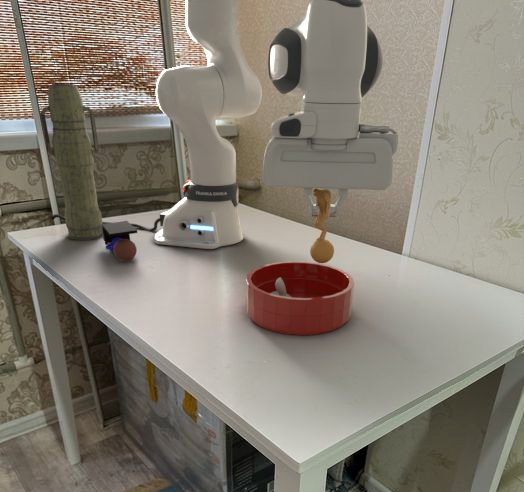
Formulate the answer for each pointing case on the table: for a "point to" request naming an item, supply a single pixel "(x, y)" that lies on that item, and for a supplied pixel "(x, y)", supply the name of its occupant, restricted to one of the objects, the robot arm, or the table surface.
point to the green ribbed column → (74, 159)
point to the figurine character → (119, 239)
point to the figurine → (322, 228)
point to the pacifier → (280, 288)
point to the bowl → (299, 297)
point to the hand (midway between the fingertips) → (323, 216)
